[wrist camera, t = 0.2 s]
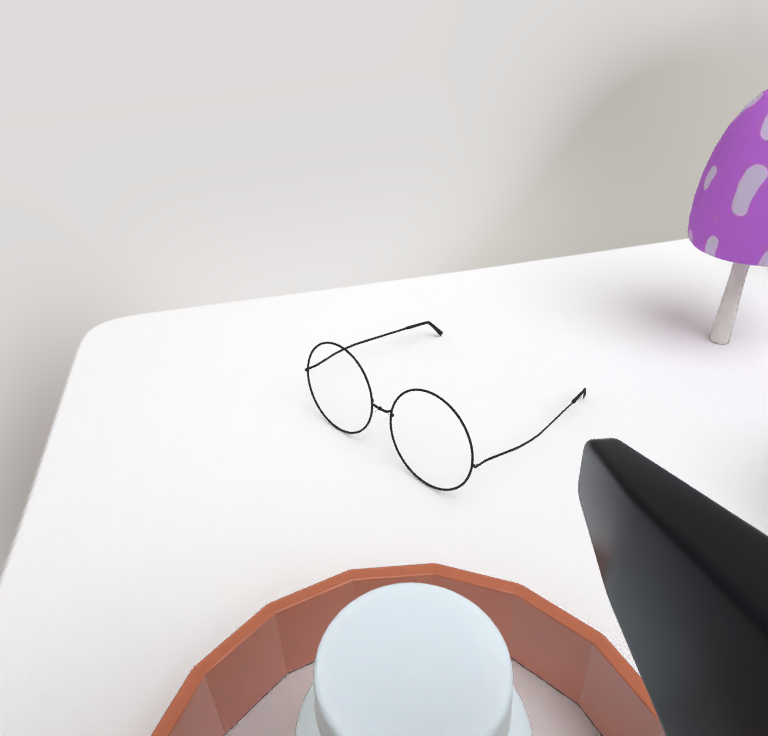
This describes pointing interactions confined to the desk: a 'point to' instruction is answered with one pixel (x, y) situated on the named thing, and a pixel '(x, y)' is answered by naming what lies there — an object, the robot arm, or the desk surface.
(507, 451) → the eyeglasses
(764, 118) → the toy
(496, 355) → the desk surface
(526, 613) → the ring
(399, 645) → the pill bottle
